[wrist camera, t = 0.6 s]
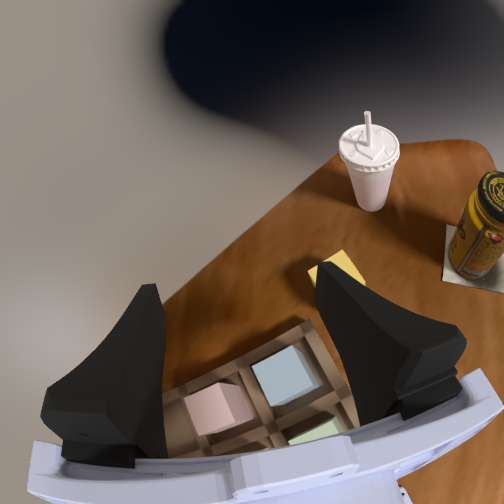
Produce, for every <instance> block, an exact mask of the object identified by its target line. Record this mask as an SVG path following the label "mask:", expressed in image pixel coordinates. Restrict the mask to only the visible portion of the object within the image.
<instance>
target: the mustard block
mask: <svg viewBox="0 0 504 504" xmlns="http://www.w3.org/2000/svg"><path fill="white" fill-rule="evenodd" d="M325 261H331V262H333V263H334V264H336V265H337V266H338V267H340V268H341V269H342V270H344V271H345V272H346V273H348V274H349V275H350V276H352V277H353V278H355V279H356V280H357V281H359V282H360V283H362V284H363V285H364V286H365V281H364V279H363V278H362V276H361V275H360V273H359V272H358V270H357V269H356V268H355V266H354V265H353V263H352V262H351V261H350V259H349V258H348V256H347V255H346V254H345V252H344V251H343V250H341V251H339V252H338V253H336V254H335V255H333V256H331V257H330V258H328V259H326V260H325ZM325 261H323V262H325ZM308 273H309V276H310V278H311V281H312V283H313V285H314V288H315V285H316V275H317V266H315V267H313V268H312V269H310V270H308Z"/></svg>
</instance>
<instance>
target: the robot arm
mask: <svg viewBox="0 0 504 504" xmlns="http://www.w3.org/2000/svg"><path fill="white" fill-rule="evenodd" d="M314 298H315V301H316V304H317V307H318V310H319V313H320V316H321V318H322V320H323V322H324V324H325V326H326V328H327V330H328V332H329V334H330V336H331V338H332V341H333V343H334V345H335V347H336V349H337V351H338V353H339V355H340V358H341V360H342V363H343V366H344V369H345V372H346V375H347V378H348V381H349V384H350V388H351V391H352V395H353V398H354V402H355V406H356V410H357V414H358V419H359V424H360V427H358V428H354V429H351V430H348V431H345V432H341V433H338V434H334V435H330V436H327V437H323V438H319V439H315V440H311V441H307V442H302V443H298V444H293V445H289V446H284V447H278V448H273V449H267V450H261V451H255V452H248V453H241V454H233V455H224V456H213V457H200V458H181V459H169V457H168V451H167V444H166V436H165V427H164V417H163V402H162V375H163V364H164V354H165V344H166V316H165V313H164V310H163V307H162V303H161V300H160V297H159V294H158V290H157V287H156V284H155V283H154V284H146V285H142V286H141V288H140V289H139V290H138V292H137V294H136V295H135V297H134V298H133V300H132V301H131V303H130V304H129V306H128V308H127V309H126V311H125V312H124V314H123V315H122V317H121V318H120V319H119V321H118V322H117V324H116V325H115V326H114V328H113V329H112V330H111V332H110V333H109V334H108V335H107V337H106V338H105V339H104V340H103V341H102V342H101V344H100V345H99V346H98V347H97V348H96V349H95V350H94V351H93V352H92V353H91V354H90V355H89V356H88V357H87V358H86V359H85V360H84V361H83V362H82V363H81V364H79V365H78V366H77V367H76V368H75V369H73V370H72V371H71V372H70V373H68V374H67V375H66V376H64V377H63V378H62V379H60V380H59V381H57V382H56V383H54V384H53V385H51V386H50V387H48V388H47V391H46V394H45V398H44V402H43V406H42V410H41V419H42V421H43V422H44V424H45V425H46V426H47V427H48V428H49V429H51V430H52V431H53V432H54V433H55V434H57V435H58V436H59V437H60V438H62V439H63V445H62V446H60V445H57V444H54V443H49V442H44V441H39V440H35V441H34V444H33V449H32V455H31V462H30V469H29V476H28V485H27V491H28V492H30V493H31V494H33V495H36V496H38V497H40V498H42V499H44V500H46V501H49V502H51V503H53V504H412V502H411V500H410V498H409V496H408V494H407V492H406V490H405V488H404V487H399V486H398V483H397V481H396V480H397V479H399V478H401V477H403V476H405V475H407V474H409V473H411V472H413V471H415V470H417V469H419V468H421V467H422V466H424V465H426V464H428V463H430V462H431V461H433V460H435V459H437V458H438V457H440V456H442V455H444V454H445V453H447V452H449V451H450V450H452V449H453V448H455V447H457V446H458V445H460V444H461V443H463V442H465V441H466V440H468V439H469V438H471V437H472V436H474V435H475V434H477V433H478V432H479V431H480V430H481V429H482V428H484V427H485V426H486V425H487V424H488V423H489V422H490V421H491V420H492V419H493V418H494V417H495V416H497V415H498V414H499V413H500V412H501V411H502V410H503V409H504V405H503V404H502V402H501V400H500V399H499V397H498V395H497V394H496V392H495V391H494V389H493V388H492V386H491V384H490V383H489V381H488V380H487V378H486V377H485V375H484V374H483V372H482V371H481V369H480V368H478V369H476V370H474V371H472V372H470V373H468V374H467V375H465V376H463V377H462V378H461V379H459V380H457V378H456V377H455V375H456V374H457V370H456V369H455V367H454V366H455V364H456V363H457V361H458V360H459V358H460V357H461V355H462V354H463V352H464V350H465V348H466V344H467V341H466V338H465V337H464V335H463V334H462V333H461V331H460V330H459V329H458V328H457V326H456V325H452V324H448V323H444V322H440V321H436V320H433V319H430V318H427V317H424V316H421V315H419V314H416V313H414V312H411V311H409V310H407V309H404V308H402V307H400V306H398V305H396V304H394V303H392V302H390V301H389V300H387V299H385V298H383V297H381V296H380V295H378V294H377V293H375V292H373V291H372V290H370V289H369V288H367V287H366V286H364V285H363V284H362V283H360V282H359V281H357V280H356V279H355V278H353V277H352V276H350V275H349V274H348V273H346V272H345V271H344V270H342V269H341V268H340V267H338V266H337V265H336V264H334V263H333V262H331V261H325V262H318V265H317V275H316V285H315V294H314ZM401 493H404V495H403V496H402V494H401Z"/></svg>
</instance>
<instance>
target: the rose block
mask: <svg viewBox="0 0 504 504" xmlns="http://www.w3.org/2000/svg"><path fill="white" fill-rule="evenodd" d="M184 401H185V403H186V406H187V409H188V411H189V414H190V416H191V419H192V421H193V424H194V426H195V429H196V431H197V433H198V436H201V435H207V434H212V433H218V432H222V431H225V430H227V429H230V428H232V427H235V426H237V425H240V424H242V423H245V422H247V421H249V420H252V419H254V418H253V416H252V414H251V411H250V409H249V407H248V405H247V403H246V401H245V398H244V396H243V394H242V392H241V390H240V387H239V385H232V384H224V383H216V384H214V385H212V386H210V387H208V388H206V389H203V390H201V391H199V392H197V393H194V394H192V395H190V396H187V397H185V398H184Z"/></svg>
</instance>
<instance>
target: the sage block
mask: <svg viewBox="0 0 504 504" xmlns="http://www.w3.org/2000/svg"><path fill="white" fill-rule="evenodd" d="M341 432H344V430H343V428H342V427H341V425H340V423H339V421H338V419H337V417H336V416H335V417H333V418H331V419H329V420H327V421H325V422H323V423H321V424H319V425H317V426H315V427H313V428H311V429H309V430H307V431H305V432H302V433H300V434H298V435H297V436H295V437H294V438H292V439H291V440H289V441H288V442H289V444H290V445H293V444H298V443H302V442H307V441H311V440H315V439H319V438H323V437H327V436H330V435H334V434H338V433H341Z"/></svg>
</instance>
